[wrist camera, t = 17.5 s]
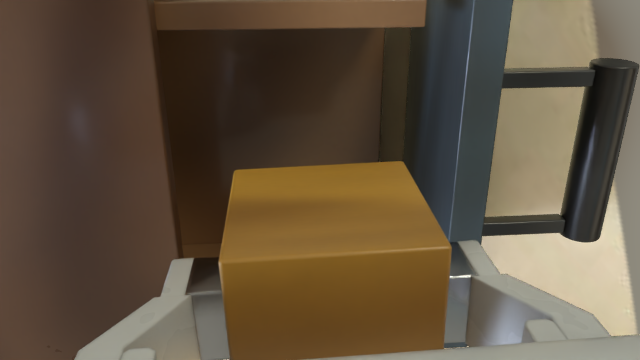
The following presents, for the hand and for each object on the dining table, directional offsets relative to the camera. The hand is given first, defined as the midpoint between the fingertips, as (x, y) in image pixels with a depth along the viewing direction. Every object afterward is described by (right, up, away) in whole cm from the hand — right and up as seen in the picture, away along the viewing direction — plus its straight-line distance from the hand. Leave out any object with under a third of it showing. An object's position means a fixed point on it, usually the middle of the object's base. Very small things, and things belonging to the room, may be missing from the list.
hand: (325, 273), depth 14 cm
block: (0, +1, +2) cm, 2 cm away
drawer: (+1, +5, +11) cm, 12 cm away
